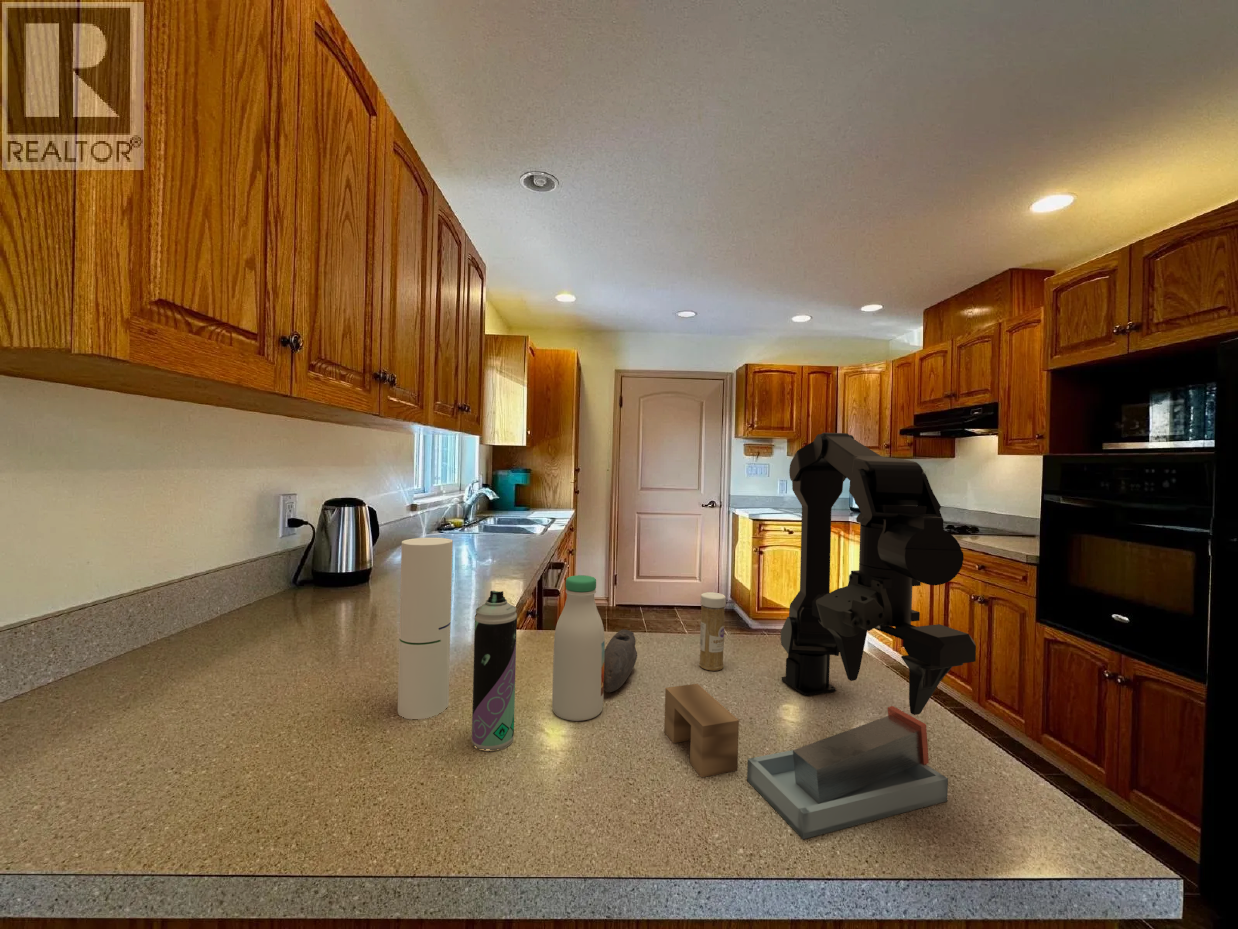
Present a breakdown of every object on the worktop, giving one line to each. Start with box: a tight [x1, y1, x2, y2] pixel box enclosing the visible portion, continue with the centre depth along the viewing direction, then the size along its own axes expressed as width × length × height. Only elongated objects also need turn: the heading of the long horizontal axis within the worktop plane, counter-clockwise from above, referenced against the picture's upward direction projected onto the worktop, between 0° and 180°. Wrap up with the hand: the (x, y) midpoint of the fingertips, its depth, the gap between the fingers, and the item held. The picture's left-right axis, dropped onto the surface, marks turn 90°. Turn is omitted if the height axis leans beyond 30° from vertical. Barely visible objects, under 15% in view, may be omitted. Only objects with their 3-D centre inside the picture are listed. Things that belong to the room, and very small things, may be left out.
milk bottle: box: [551, 574, 606, 722], centre depth 78 cm, size 8×8×20 cm
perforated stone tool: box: [604, 628, 638, 693], centre depth 88 cm, size 15×5×7 cm, turn 165°
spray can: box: [471, 590, 518, 750], centre depth 69 cm, size 6×6×20 cm
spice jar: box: [698, 591, 727, 672], centre depth 95 cm, size 5×5×13 cm
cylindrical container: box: [397, 537, 453, 720], centre depth 77 cm, size 7×7×25 cm
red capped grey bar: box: [792, 705, 930, 804], centre depth 61 cm, size 16×5×5 cm, turn 109°
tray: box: [746, 749, 949, 840], centre depth 60 cm, size 20×10×3 cm, turn 109°
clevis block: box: [663, 683, 740, 778], centre depth 68 cm, size 5×11×6 cm, turn 19°
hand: (881, 695), depth 61 cm, fingers open, 9 cm apart
